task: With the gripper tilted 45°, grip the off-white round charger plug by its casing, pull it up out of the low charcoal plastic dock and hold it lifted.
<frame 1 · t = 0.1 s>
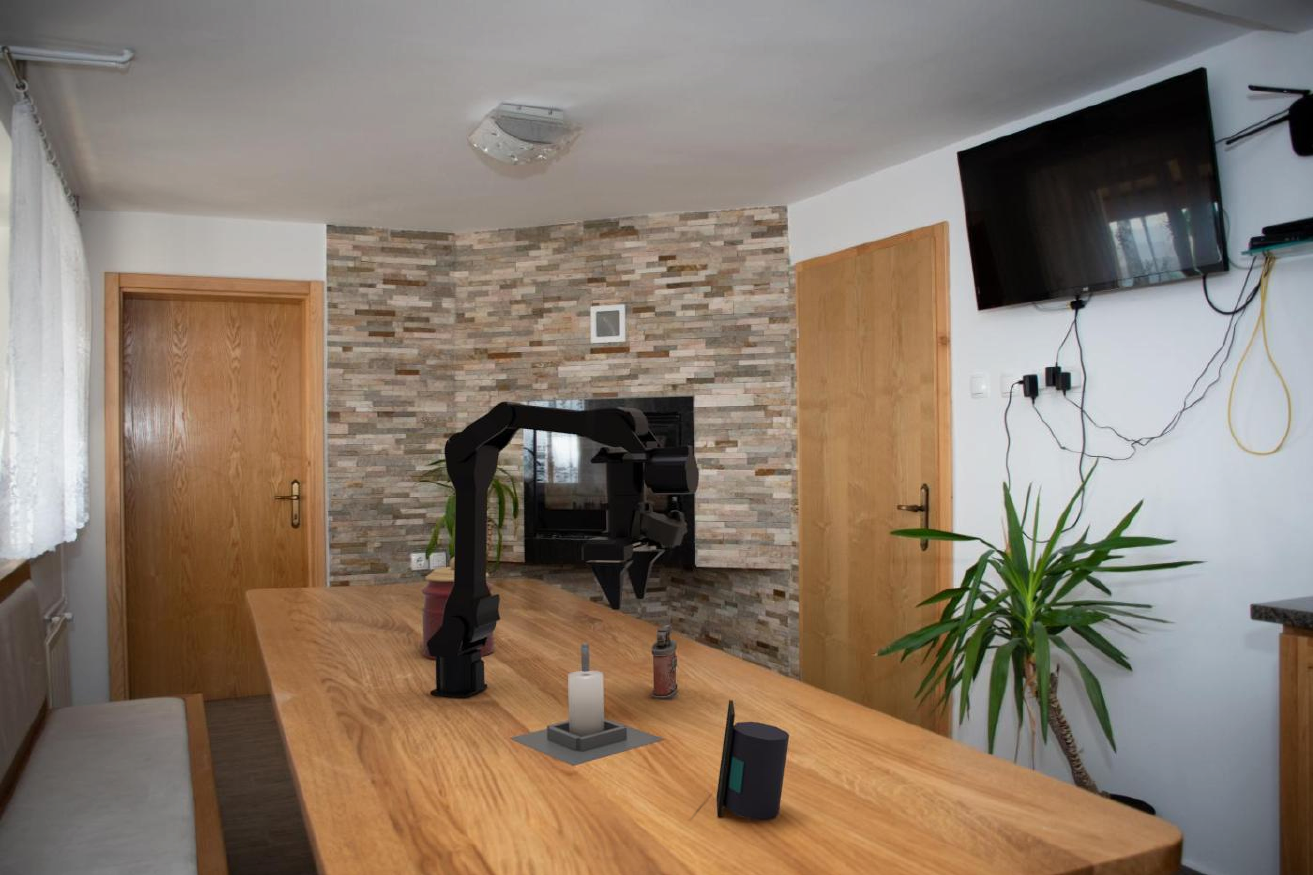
hand: (628, 604, 134), 15 cm above the table, tool pointing down, fingers open, 9 cm apart
canister: (458, 654, 171), on the table
speaker: (751, 811, 95), on the table
plug: (586, 738, 117), resting on dock
dock: (586, 742, 117), on the table
lighter: (665, 696, 139), on the table
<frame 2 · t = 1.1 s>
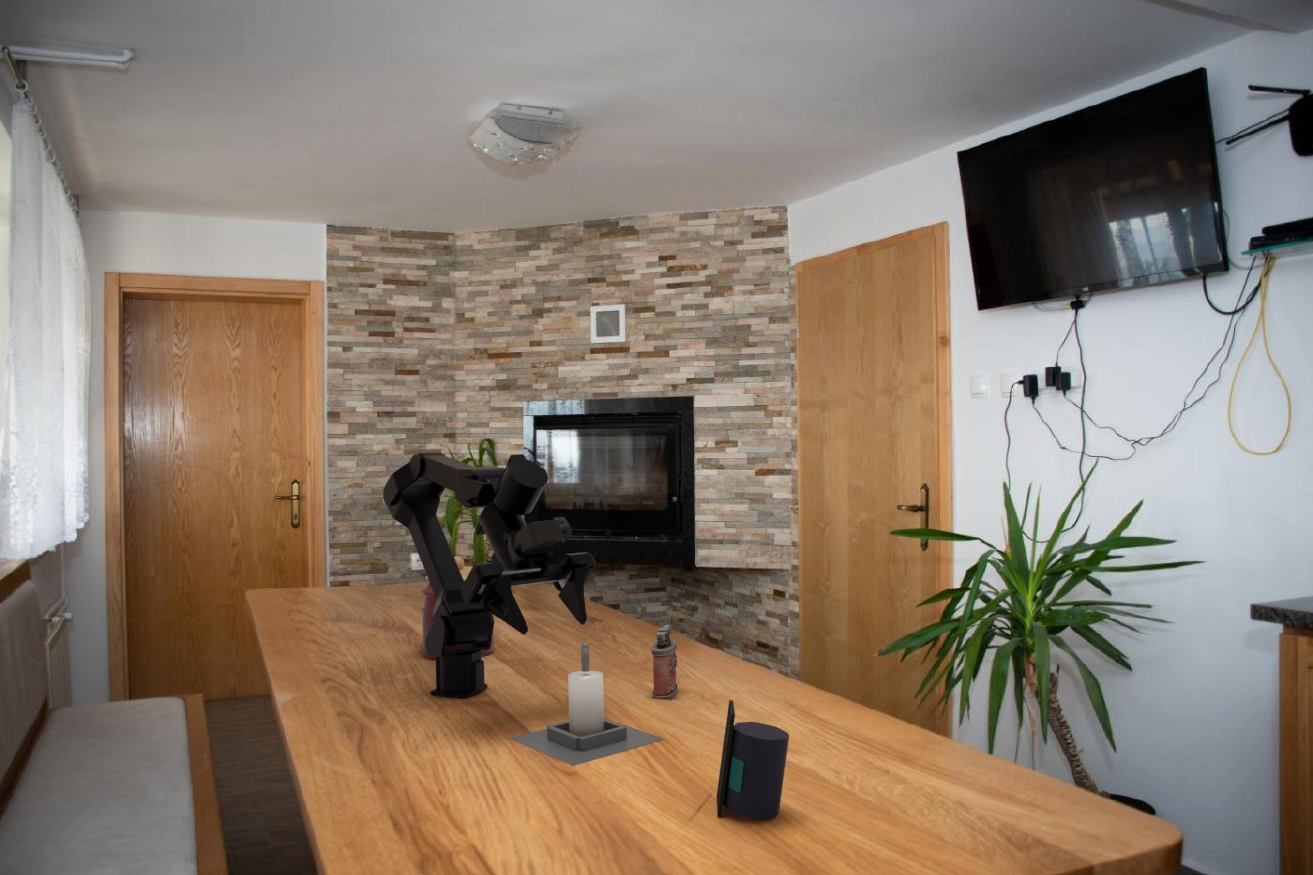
hand: (555, 627, 123), 14 cm above the table, tool tilted 45°, fingers open, 9 cm apart
nothing on the table moved.
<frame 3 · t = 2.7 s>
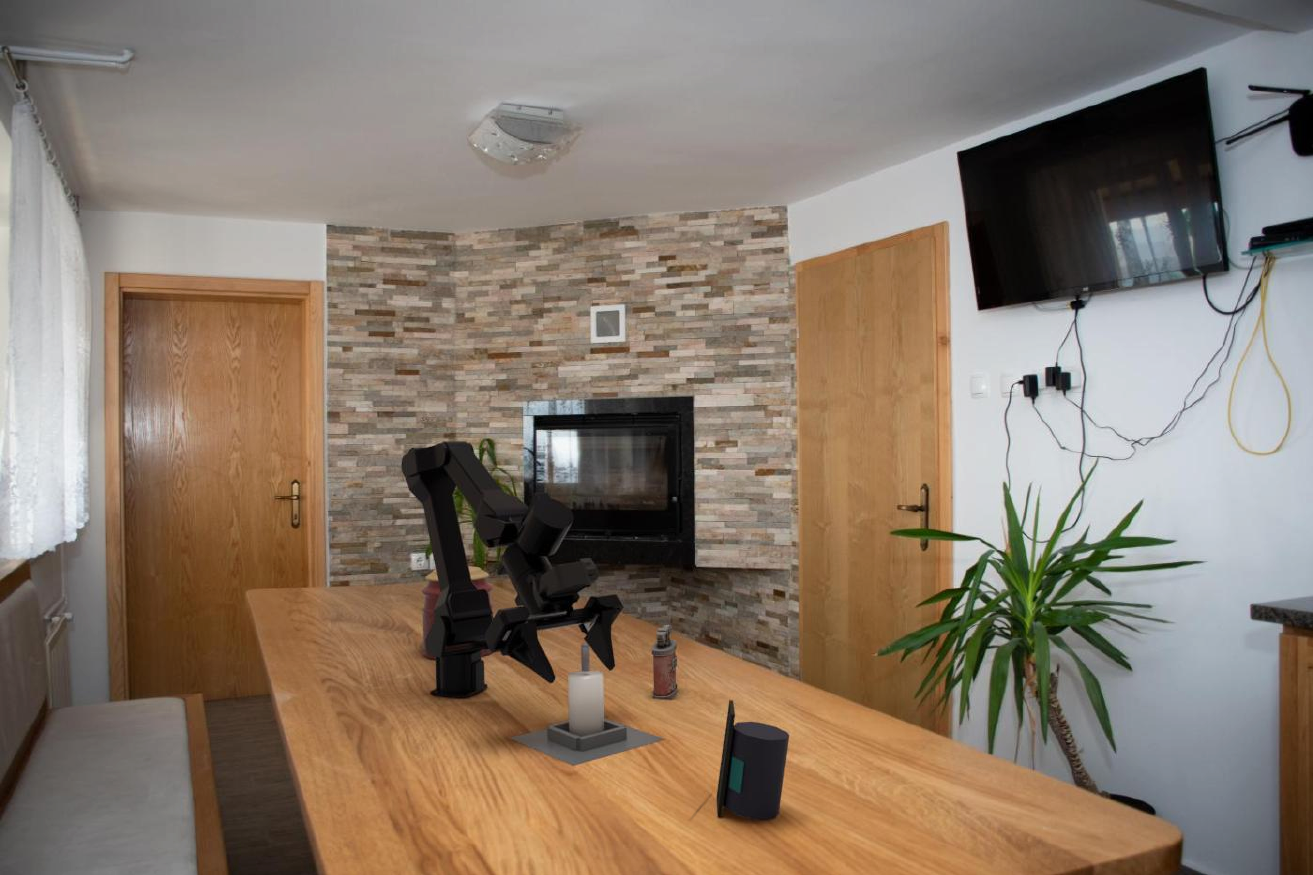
hand: (583, 674, 118), 8 cm above the table, tool tilted 45°, fingers open, 9 cm apart
nothing on the table moved.
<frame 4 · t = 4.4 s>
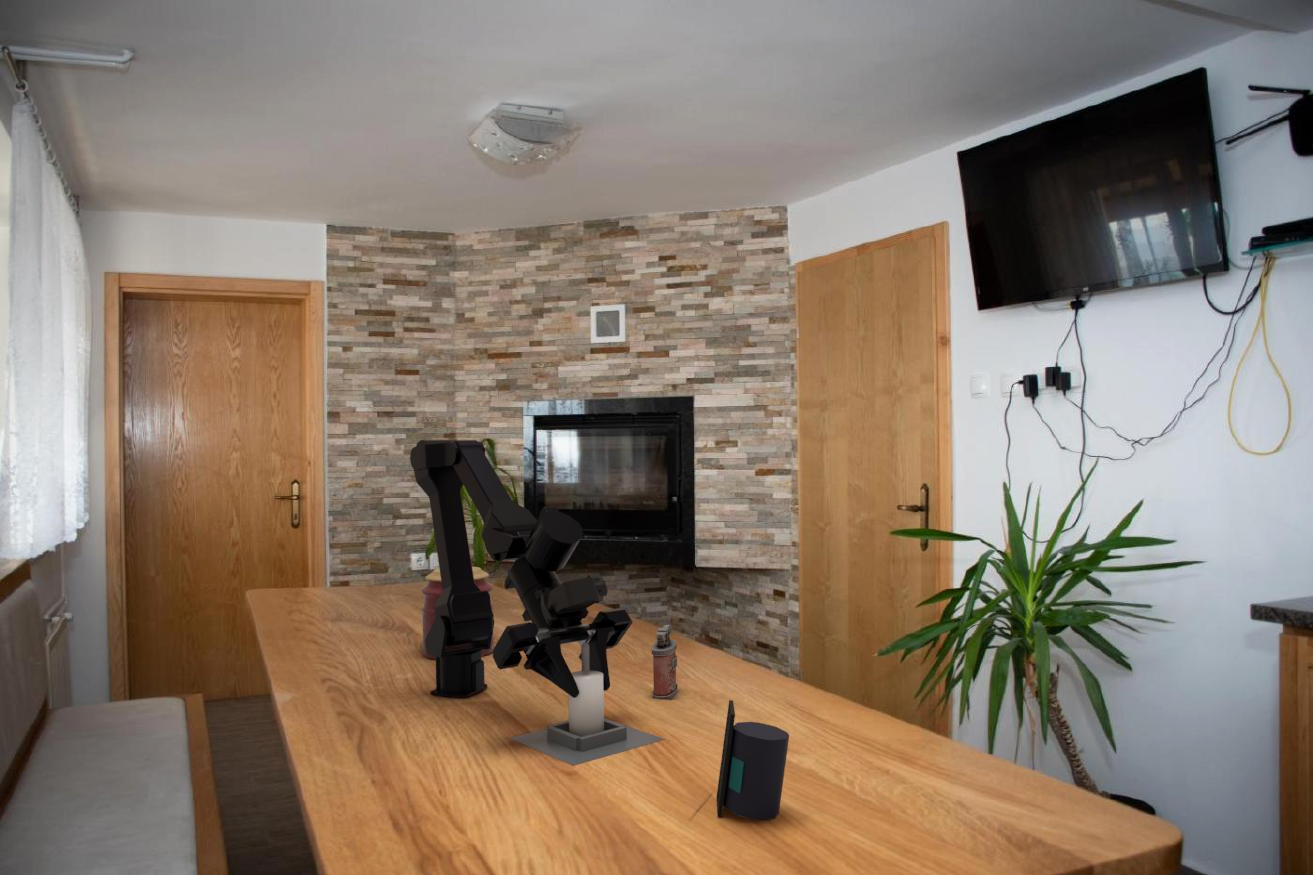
hand: (592, 692, 116), 7 cm above the table, tool tilted 45°, fingers closed on plug, 4 cm apart
plug: (586, 738, 117), point 1 cm above the table, touching dock, gripper
everything else where it was.
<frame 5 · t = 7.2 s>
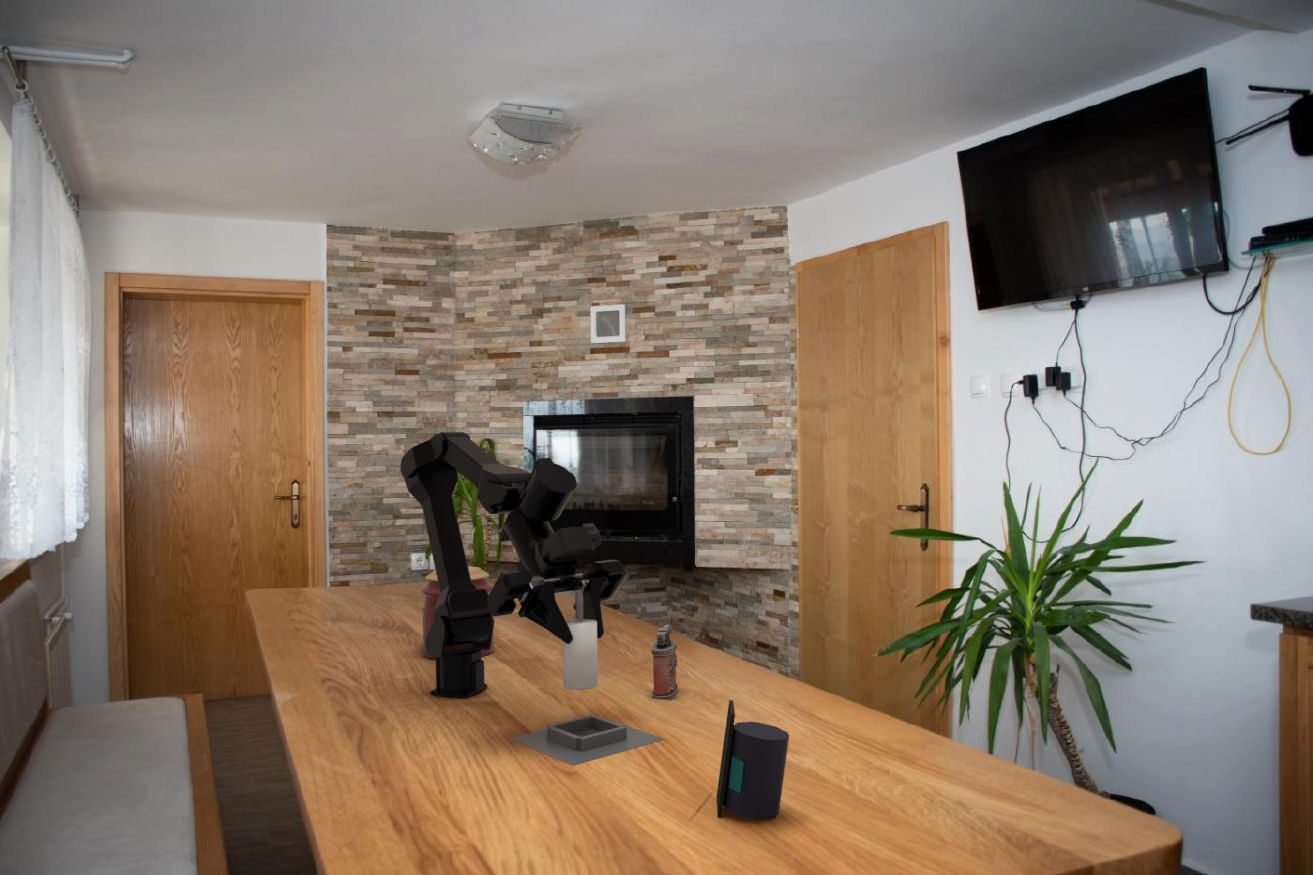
hand: (586, 638, 117), 13 cm above the table, tool tilted 45°, fingers closed on plug, 4 cm apart
plug: (580, 685, 118), point 7 cm above the table, touching gripper
everything else where it was.
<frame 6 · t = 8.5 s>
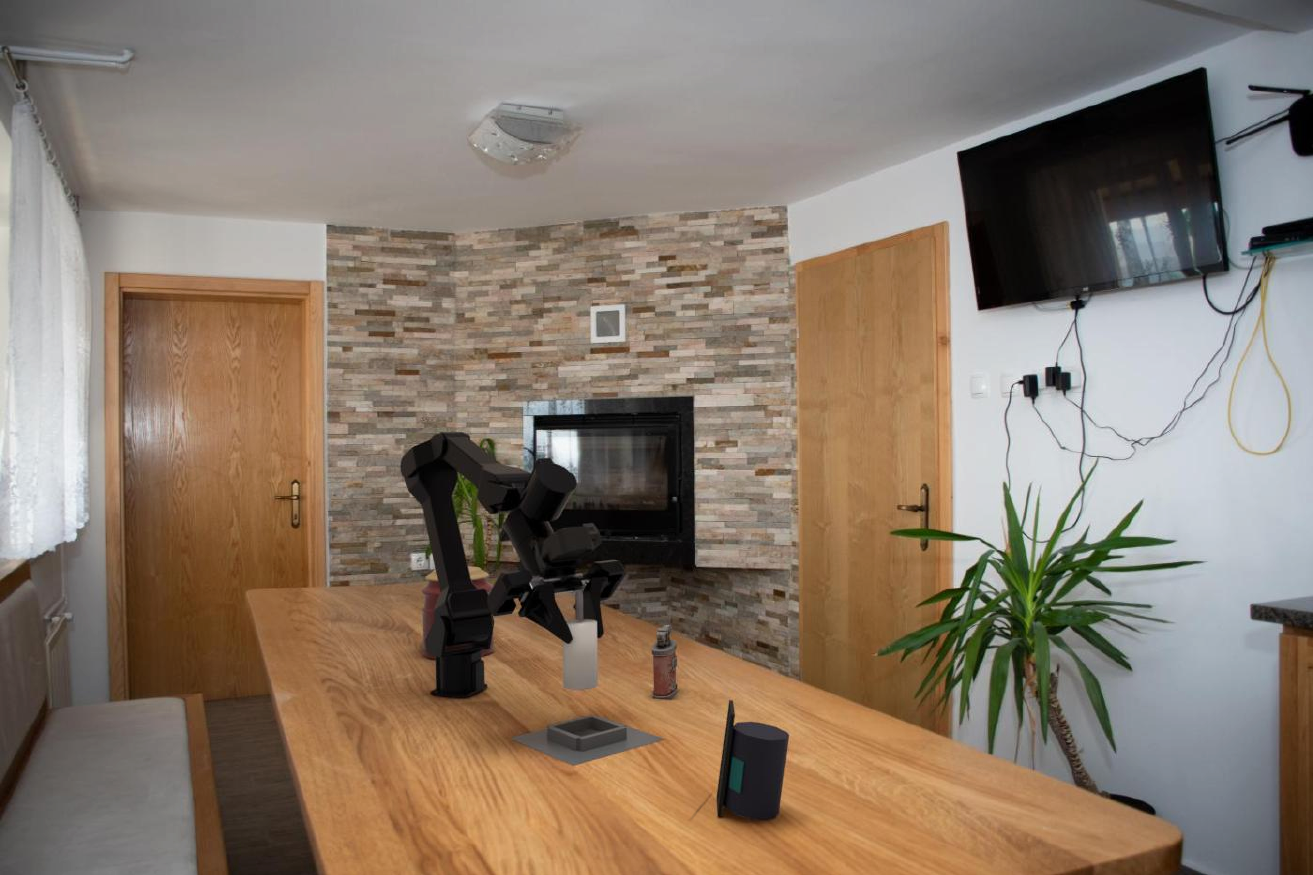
hand: (586, 638, 117), 13 cm above the table, tool tilted 45°, fingers closed on plug, 4 cm apart
plug: (580, 685, 118), point 7 cm above the table, touching gripper
everything else where it was.
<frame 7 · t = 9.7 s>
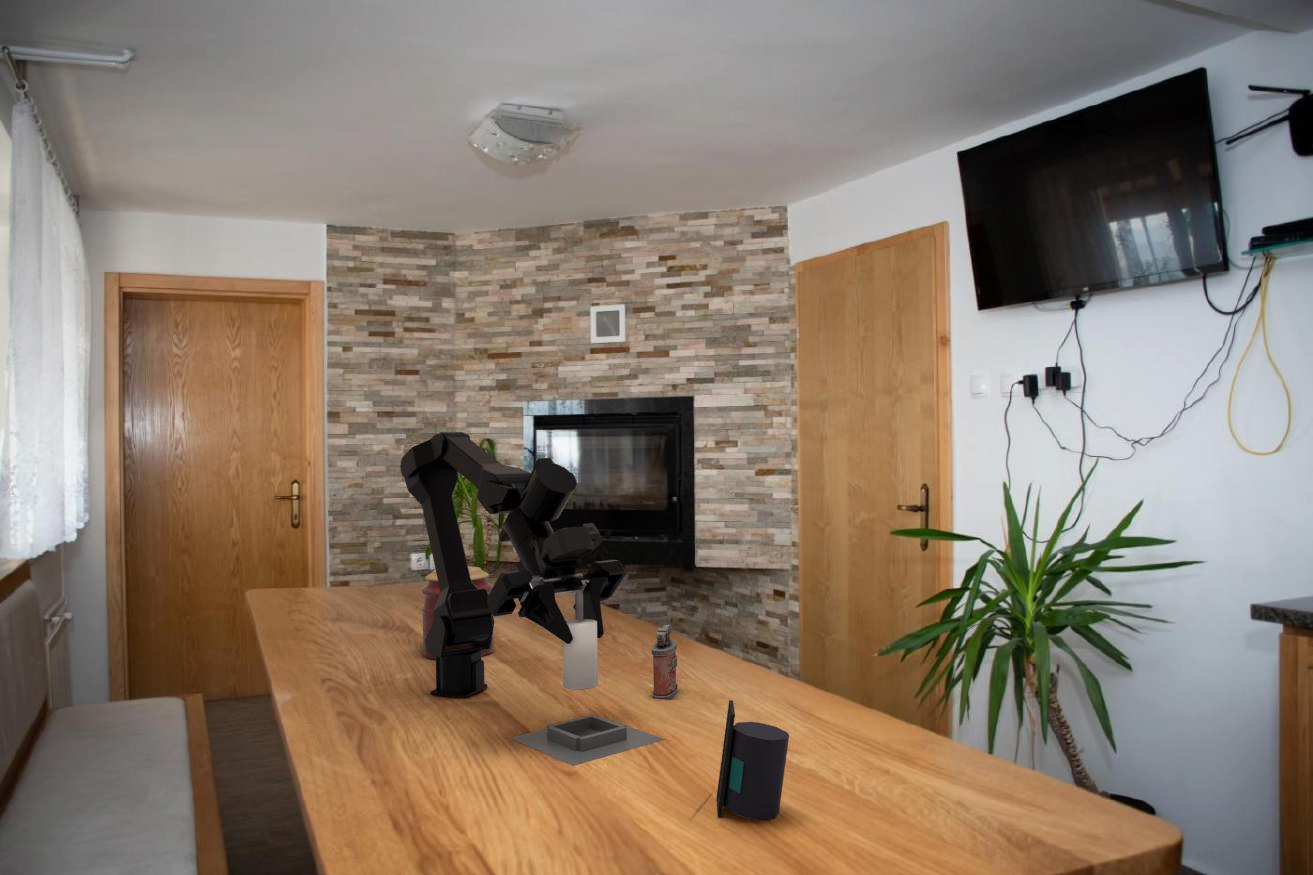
hand: (586, 639, 117), 13 cm above the table, tool tilted 45°, fingers closed on plug, 4 cm apart
plug: (580, 685, 118), point 7 cm above the table, touching gripper
everything else where it was.
at the end: the gripper is holding plug; plug point 6.9 cm above the table; plug touching gripper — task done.
